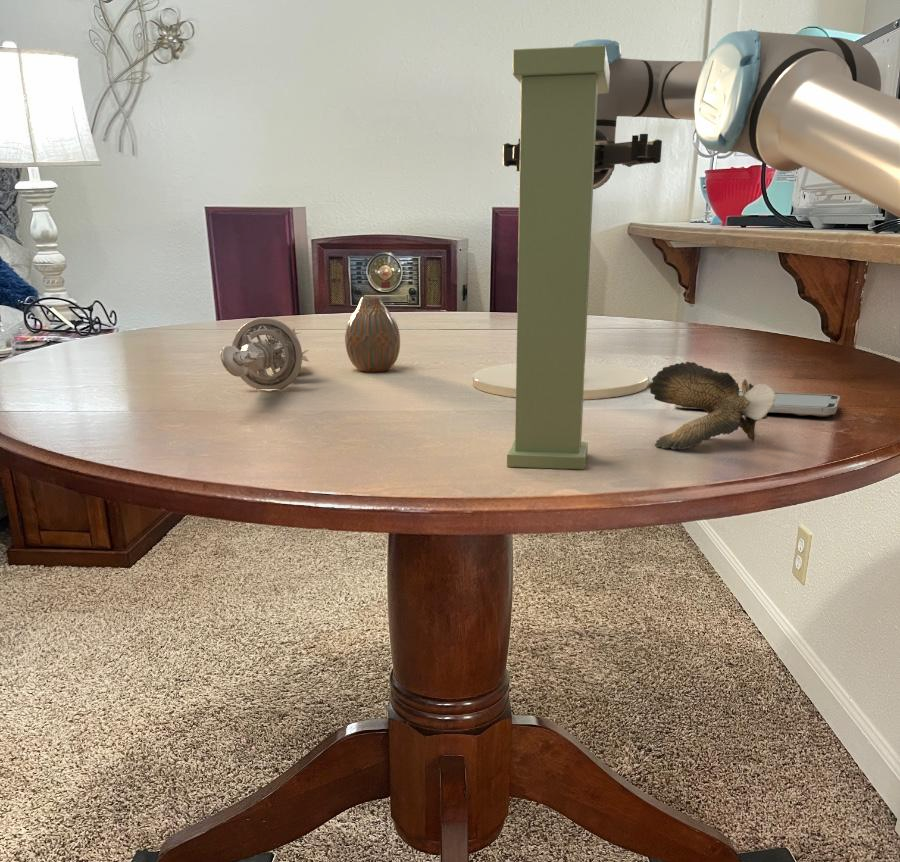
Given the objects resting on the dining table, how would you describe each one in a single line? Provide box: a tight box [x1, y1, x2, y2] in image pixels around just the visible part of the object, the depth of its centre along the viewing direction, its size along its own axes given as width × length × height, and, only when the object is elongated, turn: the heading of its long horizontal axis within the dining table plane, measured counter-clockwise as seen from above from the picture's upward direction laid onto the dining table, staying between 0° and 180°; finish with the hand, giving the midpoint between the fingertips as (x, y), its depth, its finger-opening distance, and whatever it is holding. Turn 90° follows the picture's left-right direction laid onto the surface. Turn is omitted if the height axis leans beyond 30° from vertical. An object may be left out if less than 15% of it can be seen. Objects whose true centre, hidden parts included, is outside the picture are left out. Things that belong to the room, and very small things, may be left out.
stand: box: [506, 45, 610, 470], centre depth 69 cm, size 12×6×28 cm, turn 169°
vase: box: [344, 295, 401, 373], centre depth 111 cm, size 7×7×9 cm
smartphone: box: [673, 390, 841, 418], centre depth 88 cm, size 7×1×15 cm
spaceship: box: [219, 317, 310, 390], centre depth 99 cm, size 8×35×8 cm
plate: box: [472, 361, 650, 401], centre depth 102 cm, size 20×20×1 cm
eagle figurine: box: [647, 361, 776, 450], centre depth 74 cm, size 8×7×9 cm
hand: (577, 149), depth 107 cm, fingers open, 13 cm apart
